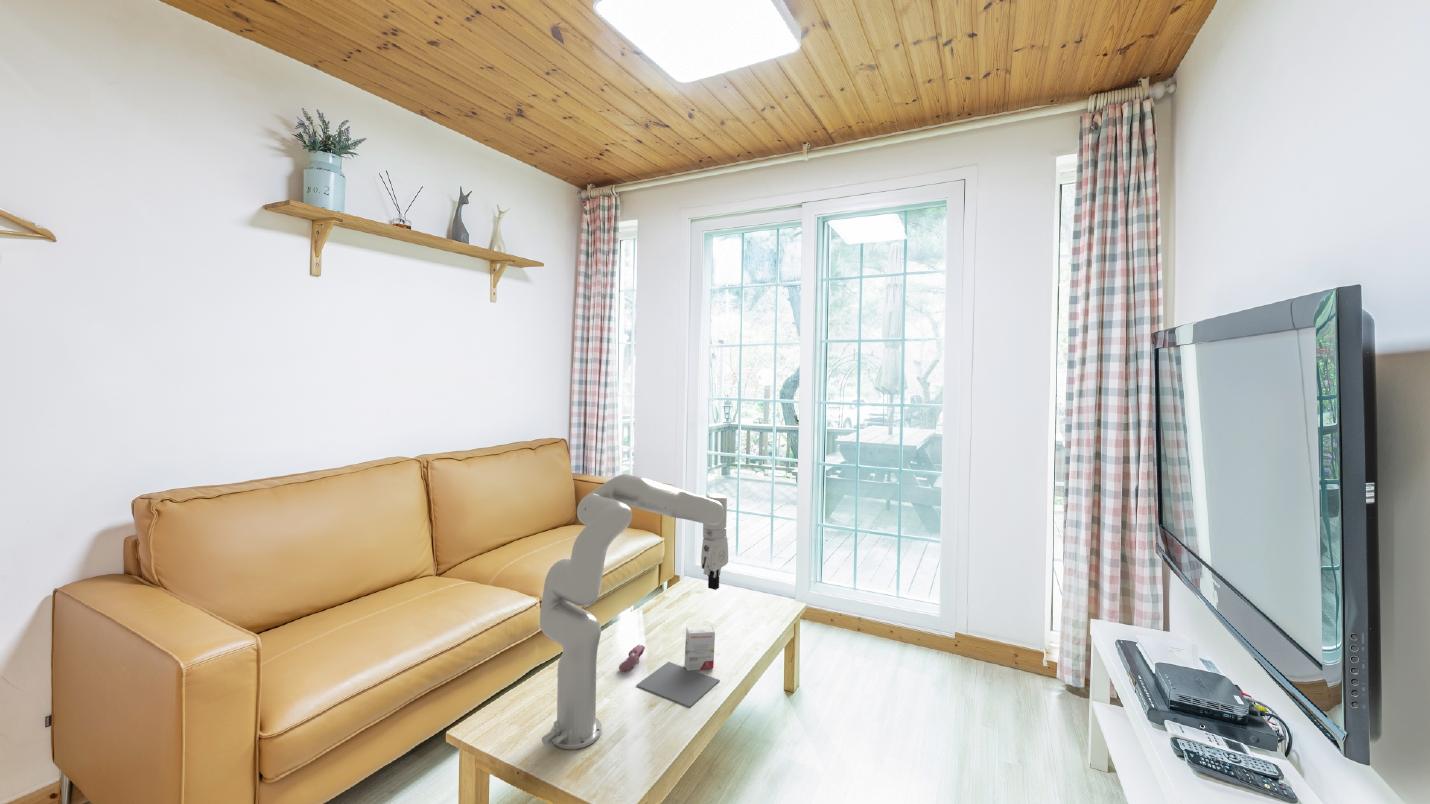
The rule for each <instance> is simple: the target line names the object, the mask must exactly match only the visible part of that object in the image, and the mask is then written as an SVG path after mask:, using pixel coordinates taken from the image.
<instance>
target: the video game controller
mask: <svg viewBox="0 0 1430 804" xmlns="http://www.w3.org/2000/svg"><path fill="white" fill-rule="evenodd" d="M645 649H646V646H645V645H642V644H640V643H639V644H636V646H634V647H633V648H632V649H631V650H630V651H629V652H628V655H627V656H628V658H627V659H626V660H624V661H623V662H622V663H620V664H619V667H618V670H619V671H620V672H626V671H629V670H630V669H633V668H634V667H635V665H639V663H640V662H639V661H640V657H641V656H642V655H643V653H644V651H645Z"/></svg>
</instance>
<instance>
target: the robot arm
mask: <svg viewBox="0 0 1430 804" xmlns="http://www.w3.org/2000/svg"><path fill="white" fill-rule="evenodd" d="M727 502H728V500H727V496H726V495H725V494H722V493H716V492H715V493H714V492H713V493H712V492H711V493H708V494H707V493H706V495H698V494H695V493H692V492H689V491H686V490H683V489H681V488H678V487H674V486H671V485H667V484H665V483H661V482H658V481H654V480H652V479H650V478H649V479H648V478H646V477H643V476H642V477H641V476H636V475H633V474H631V475H630V474H627V473H626V474H619V475H617V476H614V477H613V478H611V479H609V480H607V481H606V482H604V483H603V484H602V485H600V486H599V487H597V488H595V489H594V490H592V491H591V492H589V493H587V495H585V496H584V497H583V498H582V499H581V500H580V502H579V503H578V506H577V509H576V515H577V518H578V520H579V522H580V523H581V524H583V525H584V526H585V527H584V528H583V529H582V530H581V531H580V532H579V534H578V535H577V536H576V538H575V539H574V542H573V546H572V550H571V555H570V559H569V558H564V559H560V560H558V561H556V562H555V563H553V564H552V566H551V567H550V568H549V570H548V572H547V574H546V577H545V579H544V585H543V592H542V597H541V605H540V611H539V612H540V613H539V627H540V630H541V631H542V633H543V635H544V636H546V637H547V638H549V639H551V640H552V641H554V642H556V643H557V644H559V645H560V646H561V647H562V654H561V655H560V658H559V660H558V664H557V672H556V673H557V674H556V676H557V691H556V692H557V693H556V694H557V696H556V721H553V725H552V727H551V729H550V732H548V733H546V734H545V735H543V736H542V737H541V741H542V744H543V745H546V746H547V745H548V744H549V743H550V742H551V743H553V745H554V746H556V747H558V748H560V749H564V750H579V749H582V748H585V747H588V746H590V745H592V744H593V743H595V742H596V741H597V740H598V739H599V738H600V736H601V734H602V729H603V728H602V722H601V721H600V720H599V718H597V716H596V714H597V713H596V712H597V711H596V710H597V706H596V705H597V659H598V648H599V644H600V641H601V634H602V628H601V624H600V621H599V619H598V618H597V617H596V616H595V615H594V614H592V612H590V611H588V610H585V609H583V608H581V607H590V606H592V605H594V604H595V603H596V602H597V600H598V599H599V596H600V593H601V588H602V582H603V576H604V575H603V574H604V567H605V560H606V555H607V551H608V549H609V547H610V545H611V543H613V541H614V540H615V539H616V538H617V537H619V535H621V534H622V533H623V532H624V531H626V530H627V529H628V527H629V526H630V524H631V522H632V519H633V511H632V508H635V509H637V510H638V509H639V510H643V511H646V512H650V513H654V514H659V515H662V516H666V517H670V518H674V519H682V520H687V521H688V520H689V521H692V522H696V523H699V524H700V523H701V524H702V543H701V544H702V546H701V555H700V563H701V564H700V566H701V569H703V575H704V576H705V575H706V576H707V577H708V578H707V579H708V583H707V587H708V589H712V590H715V591H716V590H718V589H720V576H721V569H722V568H723V567H725V566H727V564H728V563H729V546H728V545H729V543H728V538H727V516H728V515H727V513H728V512H727V511H728V510H727V508H728V507H727V506H728V505H727V504H728V503H727ZM631 507H632V508H631Z"/></svg>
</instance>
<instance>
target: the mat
mask: <svg viewBox="0 0 1430 804" xmlns="http://www.w3.org/2000/svg"><path fill="white" fill-rule="evenodd" d="M718 683H720V679H718V678H716V677H712V676H709V675H707V674H704V673H701V672H699V671H697V670H691V671H687V669H686V667H685V666H682V665H680V664H677V663H673V662H671V661H667V662H666V663H665V664H663V665H661V666H660V667H659V668H658V669H656V670H655V671H653V672H652V673H651V674H649V675H648V676H647V677H645V678H643V679H642V680H641V681H640V682H638V683H637V684H636V685H635V686H636V687H637V688H640V689H642V690H645V691H647V692H648V693H649V692H650V693H652V694H655V695H657V696H659V697H662V698H664V699H667V700H668V701H672V702H674V703H678V704H680V705H681V706H684V707H687V708H689V709H690V708H692V706H694V705H695V704H696V703H697V702H699V700H701V699H702V698H703V697H704V696H705V695H706V694H707V693H708V692H710V691H711V690H712V689H713V688H714V687H715V686H716V685H718Z"/></svg>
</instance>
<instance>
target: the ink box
mask: <svg viewBox="0 0 1430 804" xmlns="http://www.w3.org/2000/svg"><path fill="white" fill-rule="evenodd" d="M715 637H716V633H715V630H714V628H713V626H711V625H710V626H706V625H705V626H687V627H686V628H685V647H684V667H685V668H686V669H687V671H691V670H693V671H701V670H711V669H714V663H715V662H714V661H715V639H716V638H715Z"/></svg>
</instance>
